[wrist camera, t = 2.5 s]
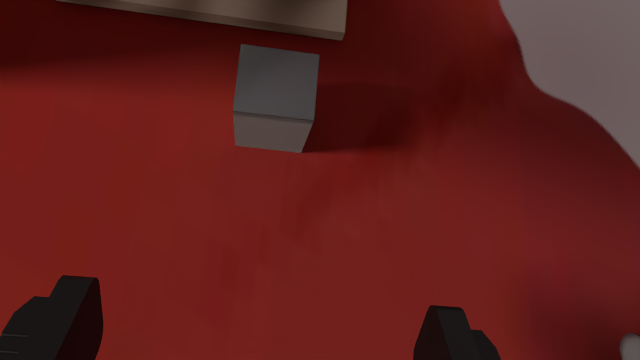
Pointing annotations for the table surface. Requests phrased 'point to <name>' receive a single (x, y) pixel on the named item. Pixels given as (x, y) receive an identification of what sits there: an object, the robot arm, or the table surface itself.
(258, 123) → the block
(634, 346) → the bunny figurine
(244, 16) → the din rail mount
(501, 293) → the table surface
